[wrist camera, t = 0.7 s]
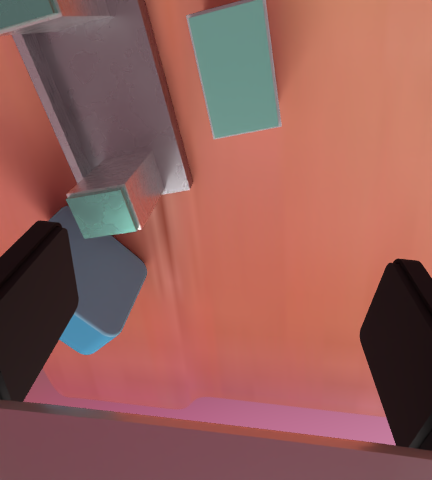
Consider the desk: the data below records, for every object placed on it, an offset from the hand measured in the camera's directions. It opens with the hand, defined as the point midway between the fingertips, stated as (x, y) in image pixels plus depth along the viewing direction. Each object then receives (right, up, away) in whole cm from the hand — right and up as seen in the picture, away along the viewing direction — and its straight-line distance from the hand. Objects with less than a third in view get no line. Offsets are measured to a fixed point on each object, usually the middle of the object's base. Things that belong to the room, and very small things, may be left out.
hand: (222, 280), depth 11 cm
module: (+2, +17, +20) cm, 26 cm away
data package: (-14, +1, +32) cm, 35 cm away
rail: (-10, +15, +23) cm, 29 cm away
